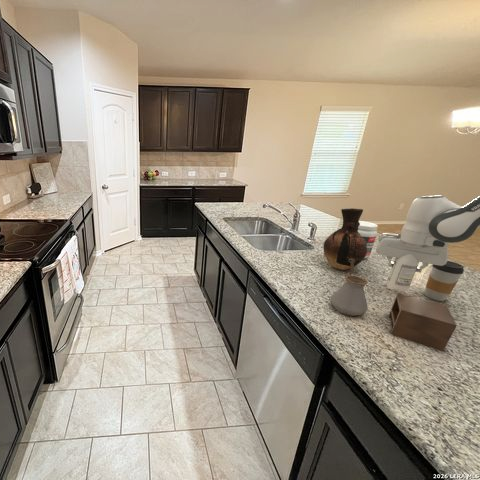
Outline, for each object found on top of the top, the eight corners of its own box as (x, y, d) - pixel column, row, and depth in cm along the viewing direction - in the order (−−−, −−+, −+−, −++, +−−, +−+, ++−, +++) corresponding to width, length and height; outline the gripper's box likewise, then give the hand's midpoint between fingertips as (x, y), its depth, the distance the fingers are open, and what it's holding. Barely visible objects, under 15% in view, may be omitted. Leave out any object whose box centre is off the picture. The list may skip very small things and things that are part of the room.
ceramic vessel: (359, 279, 115) (380, 216, 104) (315, 268, 125) (330, 210, 115) (361, 263, 130) (379, 207, 120) (322, 255, 141) (336, 202, 130)
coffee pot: (368, 323, 87) (381, 285, 82) (329, 312, 93) (339, 277, 87) (359, 293, 105) (370, 261, 99) (326, 286, 110) (335, 255, 105)
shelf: (434, 329, 85) (446, 305, 81) (443, 351, 76) (457, 325, 72) (388, 315, 92) (397, 292, 88) (391, 334, 83) (401, 309, 79)
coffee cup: (447, 305, 97) (464, 270, 92) (418, 295, 104) (432, 262, 98) (450, 298, 102) (467, 264, 96) (422, 289, 108) (436, 257, 103)
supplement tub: (370, 261, 133) (382, 228, 126) (341, 256, 139) (350, 224, 132) (367, 253, 143) (377, 222, 136) (340, 248, 149) (348, 218, 143)
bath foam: (412, 290, 103) (431, 245, 95) (398, 292, 101) (416, 246, 94) (395, 282, 109) (411, 239, 102) (381, 283, 108) (397, 240, 101)
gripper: (381, 234, 101) (371, 265, 106) (456, 245, 89) (441, 279, 94) (380, 230, 105) (371, 259, 110) (451, 239, 94) (437, 272, 99)
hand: (403, 269), depth 102 cm, fingers closed on bath foam, 7 cm apart
